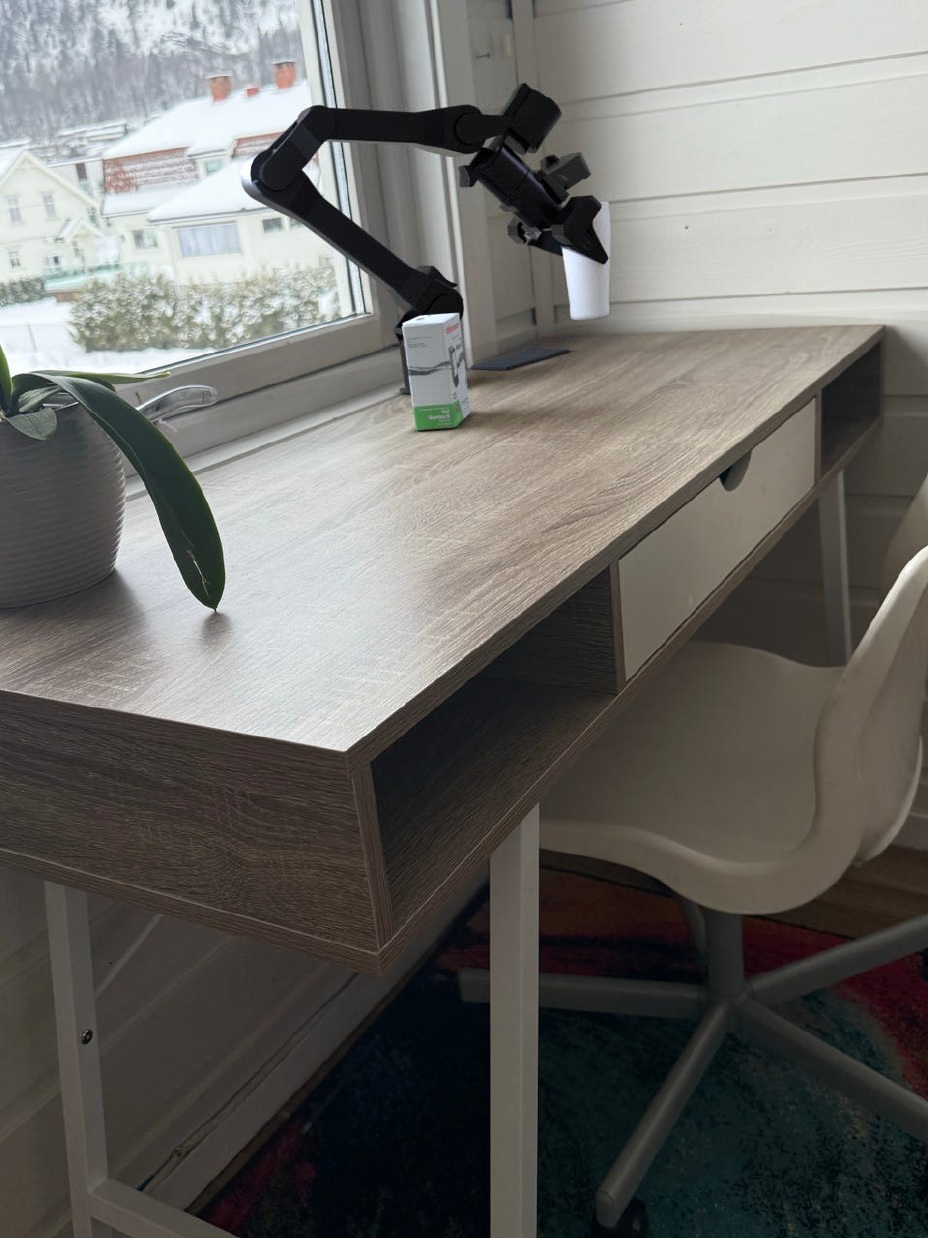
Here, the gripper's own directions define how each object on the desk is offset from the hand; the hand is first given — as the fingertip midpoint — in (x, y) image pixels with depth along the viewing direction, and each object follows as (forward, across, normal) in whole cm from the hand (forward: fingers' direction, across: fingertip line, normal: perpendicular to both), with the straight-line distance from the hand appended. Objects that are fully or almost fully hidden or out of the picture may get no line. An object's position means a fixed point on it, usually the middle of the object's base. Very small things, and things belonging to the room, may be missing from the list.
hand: (594, 260), depth 156 cm
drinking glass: (+4, 0, +6) cm, 8 cm away
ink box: (-13, -22, +32) cm, 41 cm away
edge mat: (+4, +11, +15) cm, 19 cm away
